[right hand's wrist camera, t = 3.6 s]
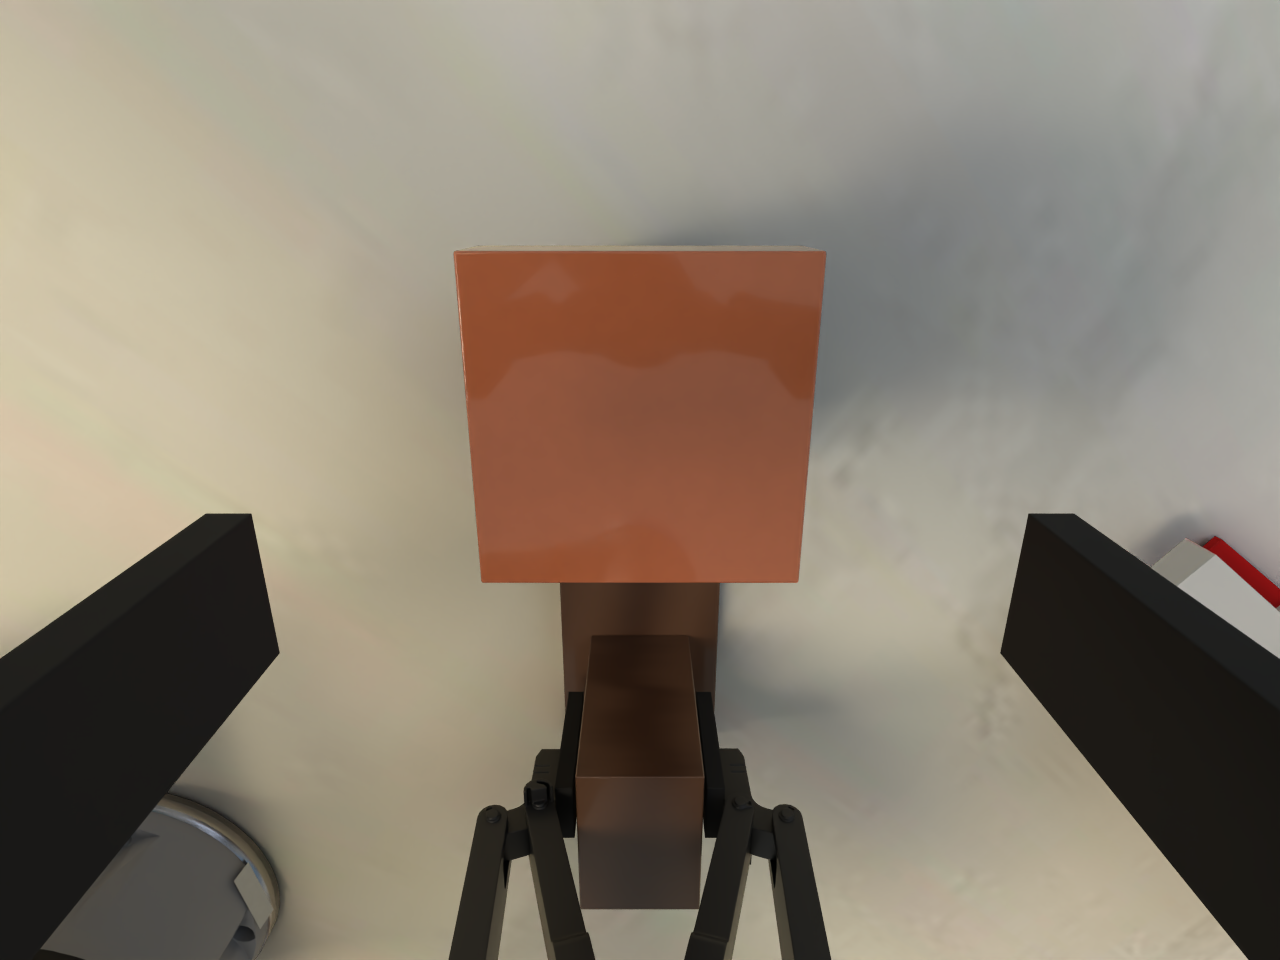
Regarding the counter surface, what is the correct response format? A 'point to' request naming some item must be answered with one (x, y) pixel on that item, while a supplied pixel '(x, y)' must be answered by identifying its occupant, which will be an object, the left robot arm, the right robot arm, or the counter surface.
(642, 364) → the glossy orange tile
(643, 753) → the brown wooden desk organizer
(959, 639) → the counter surface
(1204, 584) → the toy
